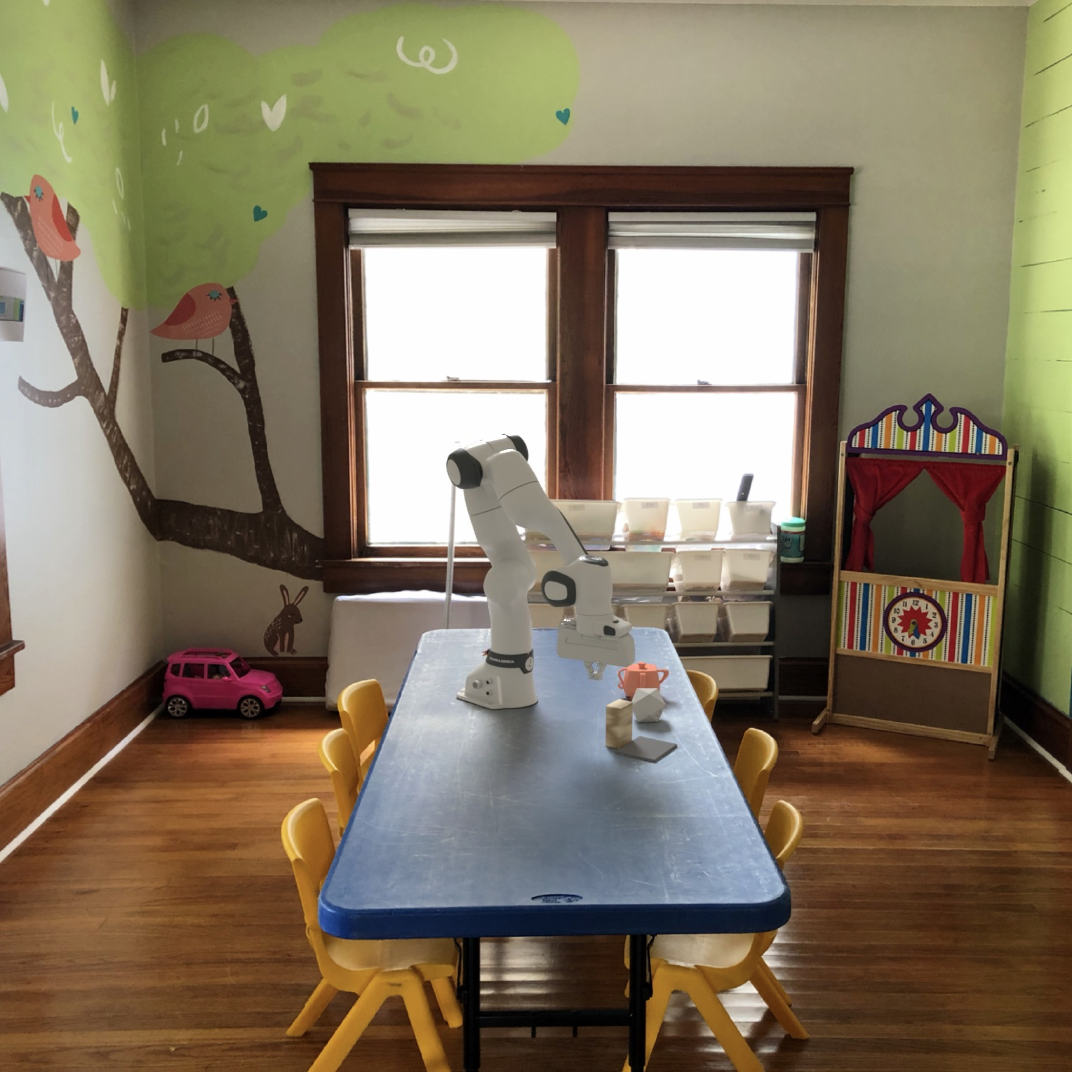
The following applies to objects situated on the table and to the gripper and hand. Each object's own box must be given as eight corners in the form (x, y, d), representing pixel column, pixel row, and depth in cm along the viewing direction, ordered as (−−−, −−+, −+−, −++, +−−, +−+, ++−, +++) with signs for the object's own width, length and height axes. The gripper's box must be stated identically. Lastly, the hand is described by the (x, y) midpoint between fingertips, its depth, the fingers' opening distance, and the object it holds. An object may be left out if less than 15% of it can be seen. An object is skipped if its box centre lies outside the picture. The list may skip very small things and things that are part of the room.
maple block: (605, 745, 251) (606, 705, 249) (617, 738, 256) (618, 699, 254) (620, 749, 249) (620, 708, 247) (632, 741, 254) (632, 702, 252)
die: (655, 731, 263) (675, 696, 265) (624, 712, 264) (644, 678, 265) (650, 731, 271) (670, 698, 273) (621, 713, 272) (640, 680, 274)
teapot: (639, 687, 296) (640, 654, 295) (671, 697, 287) (671, 663, 286) (610, 695, 289) (610, 661, 287) (641, 706, 280) (642, 670, 278)
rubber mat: (616, 753, 246) (616, 751, 246) (639, 738, 256) (639, 735, 256) (654, 762, 240) (654, 759, 240) (677, 746, 250) (677, 744, 250)
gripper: (550, 621, 254) (552, 676, 256) (625, 631, 243) (626, 688, 245) (564, 616, 259) (565, 670, 261) (638, 625, 248) (638, 681, 250)
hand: (595, 679), depth 253 cm, fingers closed
